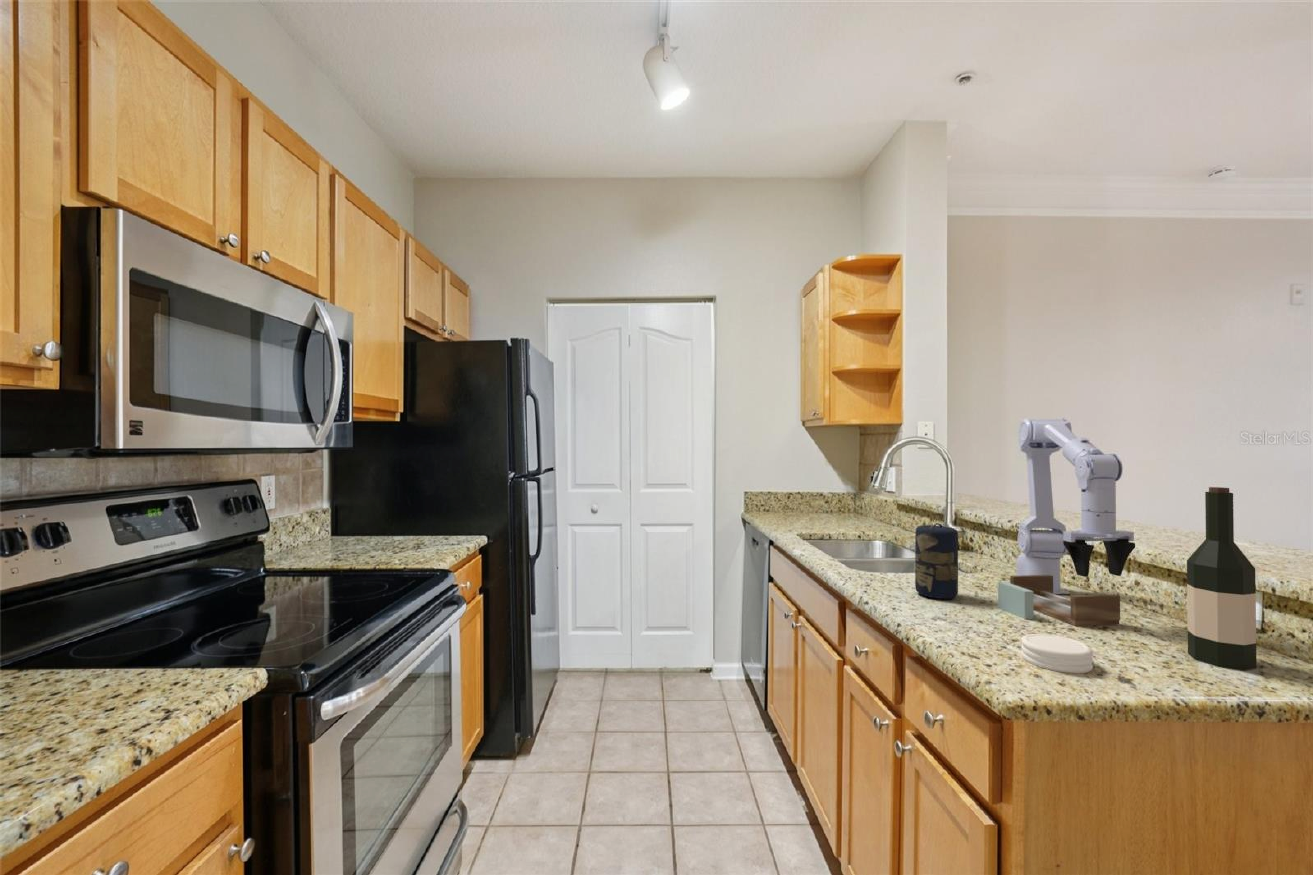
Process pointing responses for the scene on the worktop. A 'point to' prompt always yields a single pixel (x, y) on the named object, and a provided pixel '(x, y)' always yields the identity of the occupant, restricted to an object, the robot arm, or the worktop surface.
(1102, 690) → the worktop surface
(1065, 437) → the robot arm
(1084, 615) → the track base
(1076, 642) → the coaster
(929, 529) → the canister
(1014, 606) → the door panel
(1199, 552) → the wine bottle
